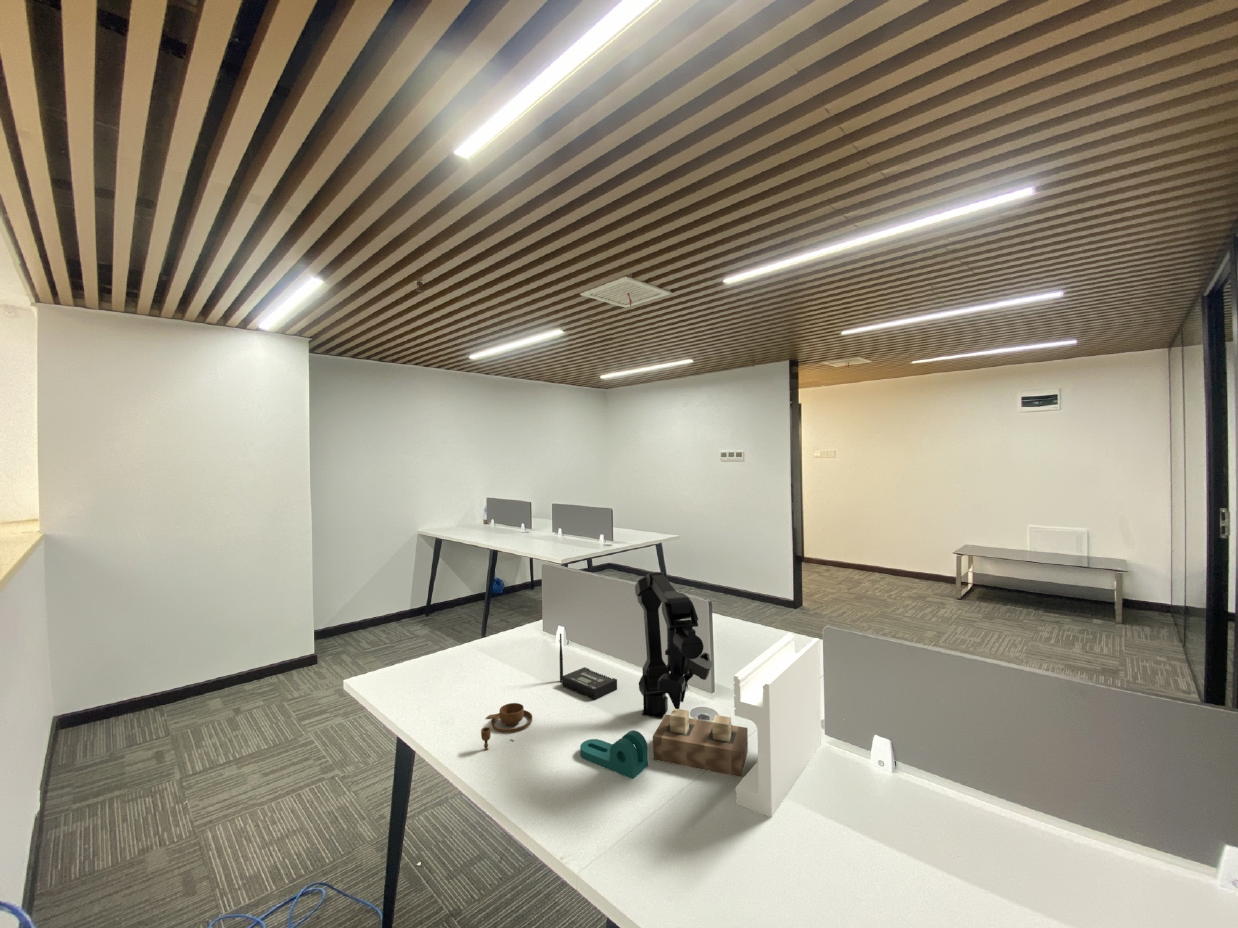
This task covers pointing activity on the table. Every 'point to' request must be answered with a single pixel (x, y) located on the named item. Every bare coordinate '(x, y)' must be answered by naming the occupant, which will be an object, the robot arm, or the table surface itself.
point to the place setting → (506, 720)
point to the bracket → (618, 754)
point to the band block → (701, 747)
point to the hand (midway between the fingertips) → (679, 705)
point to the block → (779, 720)
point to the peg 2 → (722, 728)
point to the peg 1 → (679, 721)
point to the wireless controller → (586, 681)
